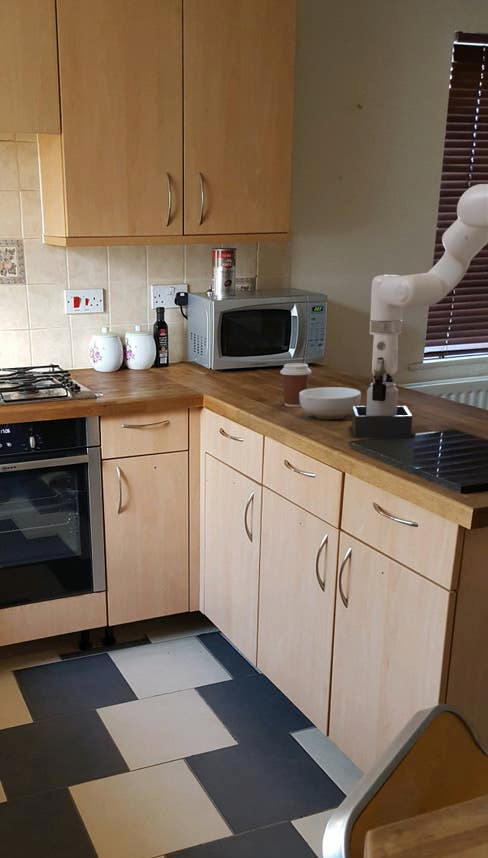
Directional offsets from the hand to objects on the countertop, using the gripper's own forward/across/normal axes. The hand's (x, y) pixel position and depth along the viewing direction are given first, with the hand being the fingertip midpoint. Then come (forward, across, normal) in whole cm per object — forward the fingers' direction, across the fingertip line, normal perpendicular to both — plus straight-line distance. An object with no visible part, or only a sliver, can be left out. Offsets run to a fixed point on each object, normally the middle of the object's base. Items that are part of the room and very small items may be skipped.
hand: (382, 397), depth 220 cm
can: (+9, 0, 0) cm, 9 cm away
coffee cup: (+9, +33, +31) cm, 46 cm away
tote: (+9, 0, 0) cm, 9 cm away
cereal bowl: (+9, +17, +17) cm, 26 cm away
